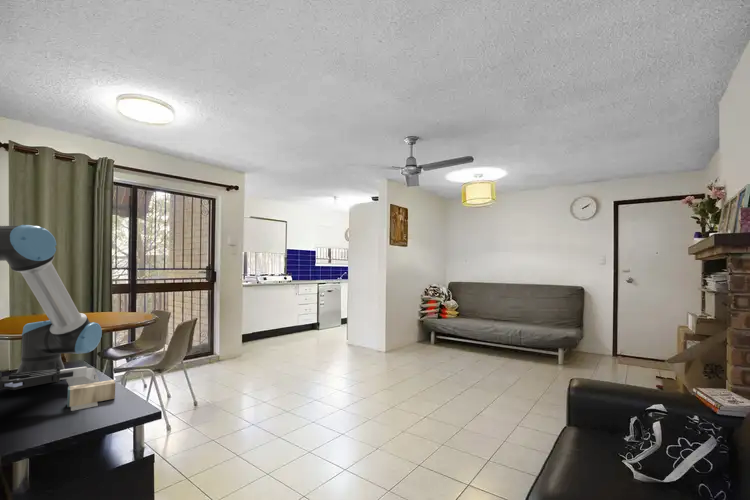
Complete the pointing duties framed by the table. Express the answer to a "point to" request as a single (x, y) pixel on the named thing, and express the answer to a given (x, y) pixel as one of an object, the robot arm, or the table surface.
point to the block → (90, 393)
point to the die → (84, 378)
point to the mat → (84, 406)
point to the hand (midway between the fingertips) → (86, 371)
